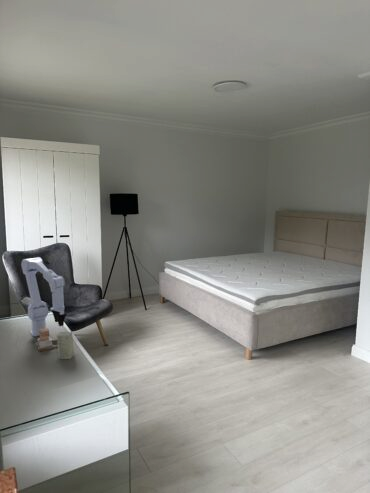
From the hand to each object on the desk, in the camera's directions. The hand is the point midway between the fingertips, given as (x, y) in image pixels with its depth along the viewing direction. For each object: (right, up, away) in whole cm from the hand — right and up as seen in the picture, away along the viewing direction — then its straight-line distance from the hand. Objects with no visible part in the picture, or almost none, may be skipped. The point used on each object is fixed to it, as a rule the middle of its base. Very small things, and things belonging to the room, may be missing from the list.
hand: (59, 323), depth 184 cm
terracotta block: (-6, -7, -5) cm, 10 cm away
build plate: (-5, -11, -3) cm, 12 cm away
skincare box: (+10, -13, -17) cm, 23 cm away
